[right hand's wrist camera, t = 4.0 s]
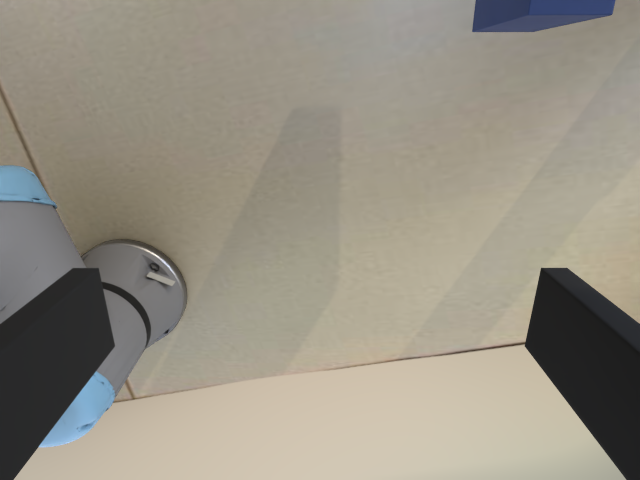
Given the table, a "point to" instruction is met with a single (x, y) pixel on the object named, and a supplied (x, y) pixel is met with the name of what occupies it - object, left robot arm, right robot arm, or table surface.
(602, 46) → the table surface
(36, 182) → the right robot arm
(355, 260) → the table surface
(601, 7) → the box
